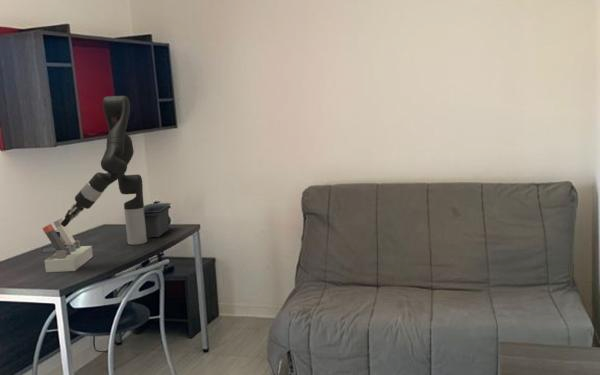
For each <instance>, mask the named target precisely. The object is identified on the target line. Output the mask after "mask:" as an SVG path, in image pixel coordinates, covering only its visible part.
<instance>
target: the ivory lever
mask: <svg viewBox="0 0 600 375" xmlns="http://www.w3.org/2000/svg"><path fill="white" fill-rule="evenodd" d="M63 220H64V219H63V218H59V219H57V220H55V221H54V222H52V223H53V224H54V226H55V228H56V230H58V231H59V233H60V234H61V236H62V238H63V239H64V241H65V242H66V244H73V243H75V241H76V240H75V239H74V237H73V234H71V232H70V231H69V228H68V227H67V226H65V227H63V226H62V225H61V222H62V221H63ZM75 248H77V244H75Z"/></svg>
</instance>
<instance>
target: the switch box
mask: <svg viewBox="0 0 600 375" xmlns="http://www.w3.org/2000/svg"><path fill="white" fill-rule="evenodd" d="M75 244H77V248H75ZM65 250H66V251H68V254H66V255H65ZM93 257H94V255H93V246H92V245H84V246H83V245H82V246H81V242H80V240H75V243H73V244H67V245H66V248H65V249H64V250H60V251H56V250H55V253H53V255H51V256H49V257H47V258H46V259H45V260H44V266H45V267H44V268H45V273H59V272H60V273H62V272H75V271H77V270H78V269H80V268H81V267H82V266H84V264H86V263H87V262H88V261H89V260H90V259H92V258H93Z"/></svg>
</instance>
